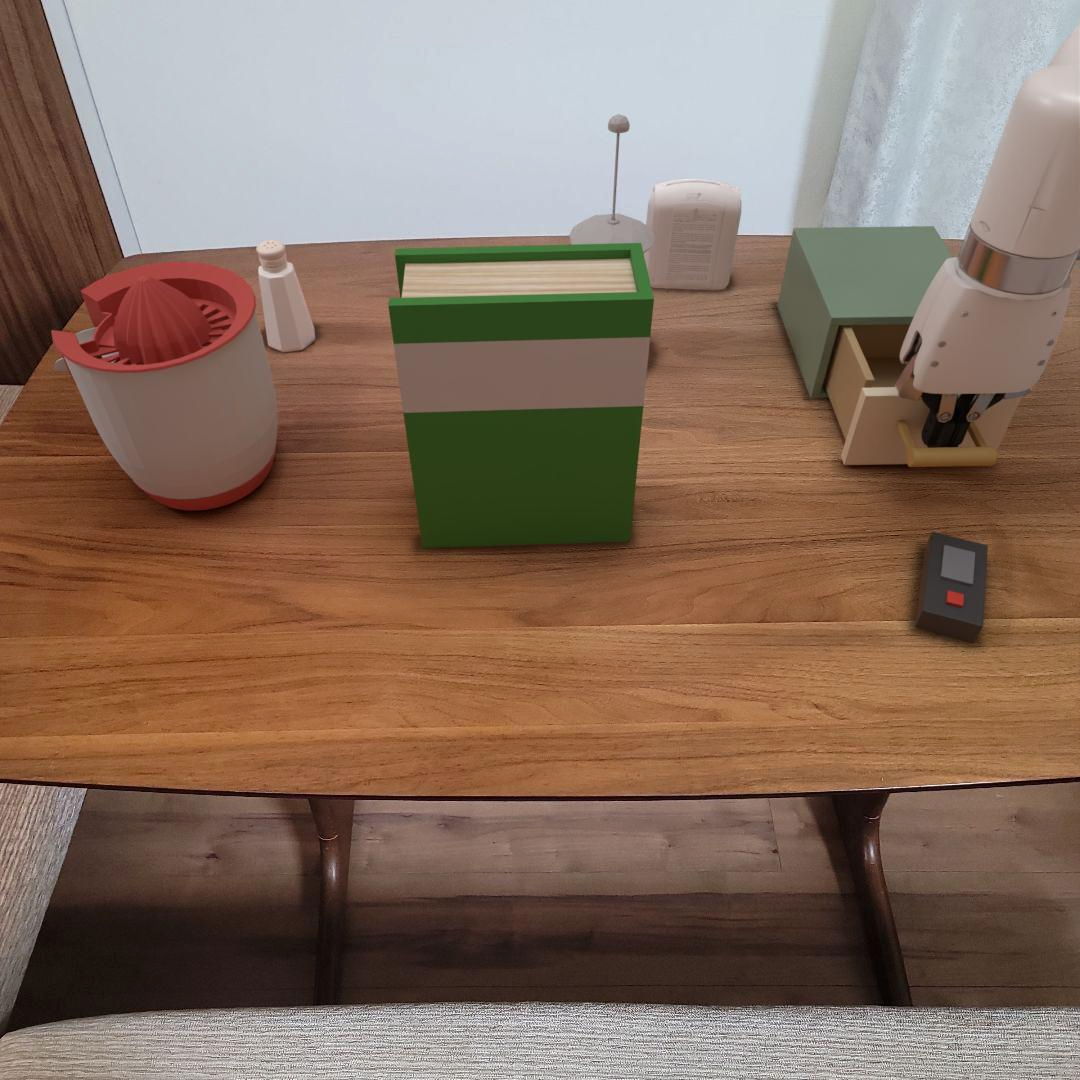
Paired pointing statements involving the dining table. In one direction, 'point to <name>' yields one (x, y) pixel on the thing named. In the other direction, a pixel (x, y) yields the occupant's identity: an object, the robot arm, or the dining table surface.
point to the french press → (613, 213)
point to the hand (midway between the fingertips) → (937, 447)
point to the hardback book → (523, 389)
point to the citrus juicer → (177, 381)
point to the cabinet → (852, 286)
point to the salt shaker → (283, 300)
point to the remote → (952, 587)
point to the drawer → (896, 406)
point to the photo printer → (692, 233)
